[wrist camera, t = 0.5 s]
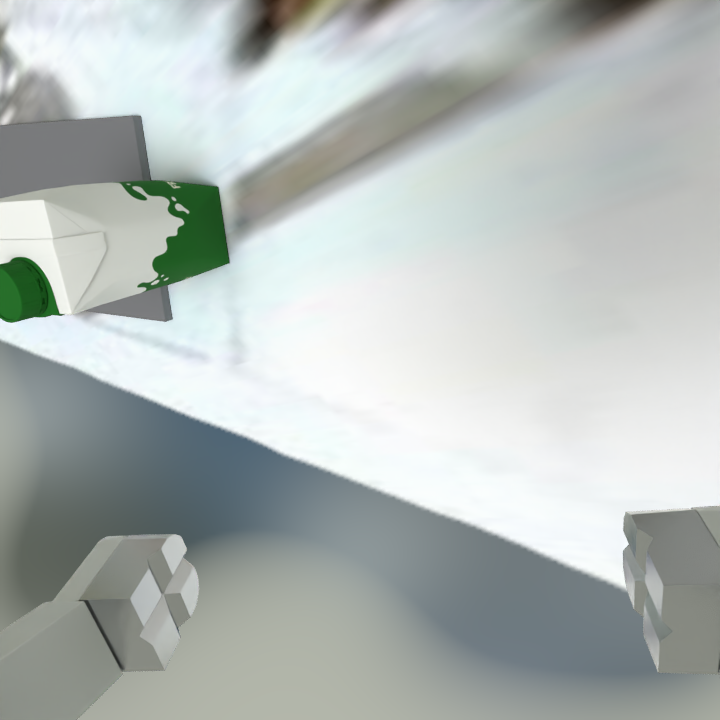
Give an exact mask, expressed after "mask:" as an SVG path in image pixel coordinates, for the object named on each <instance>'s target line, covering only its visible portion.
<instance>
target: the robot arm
mask: <svg viewBox="0 0 720 720" xmlns="http://www.w3.org/2000/svg"><path fill="white" fill-rule="evenodd" d="M623 531H624V533H625V536H626V538H627V541H628V543H629V545H628V546H627V547H626V548H625V549H624V550H623V569H624V576H625V582H626V586H627V590H628V594H629V597H630V600H631V602H632V605H633V608H634V610H635V611H636V612H638V613H639V614H640V615H642V616H643V617H644V624H643V635H644V637H645V640H646V643H647V645H648V648H649V650H650V653H651V655H652V658H653V661H654V663H655V666H656V668H657V671H658V673H687V674H720V506H709V507H694V508H691V509H689V508H686V509H668V510H651V511H633V512H626V513H625V516H624V527H623ZM186 550H187V548H186V546H185V544H184V542H183V540H182V538H181V536H178V535H175V534H163V535H130V536H107V537H106V538H104V539H102V540H100V541H99V542H98V543H97V545H96V546H95V547H94V549H93V550H92V551H91V552H90V554H89V555H88V556H87V557H86V559H85V560H84V561H83V563H82V564H81V565H80V567H79V568H78V569H77V571H76V572H75V573H74V574H73V576H72V577H71V578H70V579H69V581H68V582H67V583H66V585H65V586H64V587H63V589H62V590H61V591H60V592H59V594H58V595H57V596H56V597H55V599H54V600H53V601H52V602H44V603H43V604H41V605H40V606H39V607H37V608H35V609H34V610H32V611H31V612H29V613H28V614H26V615H25V616H23V617H22V618H20V619H19V620H17V621H15V622H14V623H12V624H11V625H9V626H8V627H6V628H5V629H4V630H2V631H0V720H77V719H78V718H79V717H80V716H81V715H82V714H83V713H84V712H85V711H86V710H87V709H88V708H89V707H90V706H91V705H92V704H94V703H95V702H96V701H97V700H98V698H99V697H101V696H102V695H103V694H104V692H106V691H107V690H108V688H110V687H111V686H112V685H113V684H114V683H115V682H116V681H117V680H118V679H119V678H120V677H121V676H122V675H123V673H122V672H130V671H163V670H165V669H166V667H167V665H168V663H169V661H170V659H171V657H172V654H173V653H174V651H175V649H176V646H177V644H178V642H179V640H180V638H181V637H180V633H179V629H178V627H179V626H181V625H182V624H183V623H184V622H185V621H187V620H188V619H189V618H190V617H191V615H192V613H193V611H194V609H195V606H196V604H197V599H198V592H199V582H198V576H197V573H196V570H195V568H194V566H193V565H191V564H190V563H189V562H188V561H186V560H185V559H184V558H183V557H184V555H185V553H186Z"/></svg>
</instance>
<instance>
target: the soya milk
mask: <svg viewBox="0 0 720 720" xmlns="http://www.w3.org/2000/svg"><path fill="white" fill-rule="evenodd" d="M228 263H229V257H228V251H227V244H226V237H225V231H224V224H223V217H222V210H221V204H220V197H219V190H218V187H214V186H206V185H197V184H189V183H180V182H171V181H159V180H154V181H144V180H140V181H124V182H110V183H97V184H83V185H72V186H65V187H59V188H50V189H43V190H38V191H34V192H29V193H24V194H19V195H14V196H10V197H5V198H0V318H1V319H2V320H4V321H6V322H11V323H12V322H17V321H21V320H25V319H28V318H33V317H47V316H51V315H59V316H62V315H65V314H66V315H74V314H77V313H79V312H82V311H85V310H88V309H90V308H93V307H96V306H99V305H102V304H105V303H109V302H112V301H116V300H119V299H122V298H126V297H129V296H132V295H136V294H139V293H142V292H146V291H149V290H152V289H156V288H159V287H162V286H166V285H169V284H172V283H176V282H179V281H182V280H185V279H188V278H190V277H193V276H196V275H198V274H201V273H204V272H206V271H209V270H212V269H214V268H217V267H220V266H222V265H225V264H228Z"/></svg>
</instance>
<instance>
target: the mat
mask: <svg viewBox="0 0 720 720" xmlns="http://www.w3.org/2000/svg"><path fill="white" fill-rule="evenodd" d="M140 180H144V181H151V179H150V172H149V166H148V159H147V153H146V147H145V140H144V134H143V127H142V121H141V116H124V117H110V118H97V119H83V120H69V121H56V122H42V123H29V124H15V125H2V126H0V198H5V197H10V196H14V195H19V194H24V193H29V192H34V191H38V190H43V189H50V188H59V187H65V186H72V185H83V184H97V183H110V182H124V181H140ZM85 311H89V312H96V313H104V314H111V315H119V316H126V317H134V318H141V319H149V320H156V321H164V322H166V321H169V320H172V314H171V307H170V301H169V295H168V288H167V285H166V286H162V287H159V288H156V289H152V290H149V291H146V292H142V293H139V294H136V295H132V296H129V297H126V298H122V299H119V300H116V301H112V302H109V303H105V304H102V305H99V306H96V307H93V308H90V309H88V310H85Z"/></svg>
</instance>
